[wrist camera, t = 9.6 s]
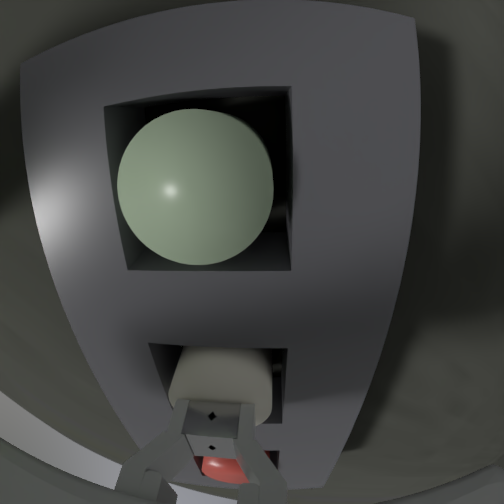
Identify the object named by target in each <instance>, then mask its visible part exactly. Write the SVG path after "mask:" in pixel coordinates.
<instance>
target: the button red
mask: <svg viewBox="0 0 504 504" xmlns="http://www.w3.org/2000/svg"><path fill="white" fill-rule="evenodd" d="M264 452H265V453H266V455H267V456H268V457H269V459H270V451H268V450H264ZM202 472H203V473H204V474H205V475H207V476H208V477H210V478H212V479H215V480H218V481H222V482H227V483H234V484H242V483H250V482H249V481H248V479H247V477H246V476H245V474H244V472H243V471H242V469H241V467H240V465H239V464H238V462H237V460H236V459H228V458H218V457H206V456H204V458H203V464H202Z"/></svg>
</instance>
